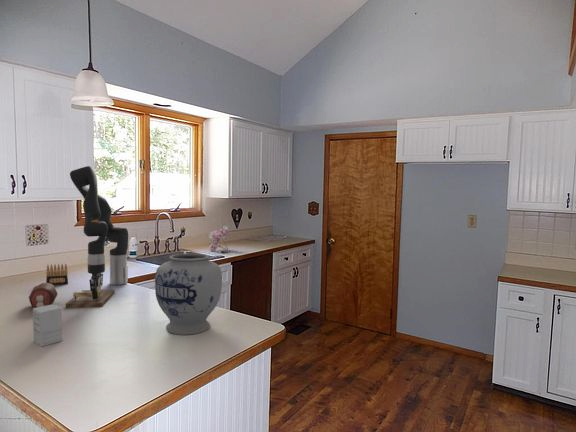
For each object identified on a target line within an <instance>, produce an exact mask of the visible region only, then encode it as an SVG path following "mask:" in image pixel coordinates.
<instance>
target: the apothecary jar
mask: <svg viewBox="0 0 576 432" xmlns="http://www.w3.org/2000/svg"><path fill="white" fill-rule="evenodd" d="M168 258H169V259H170V260H169V261H166V262H163V263H162V264H160V265H159V266H158V267H157V268H156V271H155V277H154V278H155V279H154V288H155V297H156V301H157V304H158V306H159V307H160V310H161V311H162V312H163V313H164V315H165V316H166V317H167V319H168V320H169V322H168V323H167V325H166V326H165V328H166V330H167V331H168V332H169V333H171V334H174V335H178V336H179V335H181V336H182V335H183V336H187V335H189V336H190V335H196V334H201V333H203V332H206V331H207V330H208V329H209V328H210V327H211V323H210V321H208V320H207V319H208V317H209V316H210V314H211V313H212V312H213V311H214V310H215V308H216V307H217V306H218V303H219V302H220V298H221V293H222V288H223V279H222V269H221V267H220V265H219V264H218V263H216V262H213V261H211V260H209V259H210V256H209V255H208V254H206V253H205V254H204V253H176V254H172V255H169V257H168Z"/></svg>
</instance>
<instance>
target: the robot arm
mask: <svg viewBox="0 0 576 432" xmlns="http://www.w3.org/2000/svg"><path fill="white" fill-rule="evenodd" d="M69 177H70V180H71V181H72V183H73V185H74V186H75V188H76V189H77V191H78V192H79V193H80V195H81V196H82V197H83V199H84V200H83V201H82V202H83V203H82V208H83V212H84V213H83V214H84V224H83V233H84V235H85V236H86V237H89V238H91V237H98V238H97V239H95V240H91V241H89V242H88V244H87V273H88V274H91V277H90V279H89V290H90V291H92V299H97V298H98V286H101V288H102V286H103V283H104V282H103V280H104V274H103V273H105V271H106V258H105V243H106V239H107V241H109V243H116V246H115V247H114V248H111V249H110V250H109V285H112V286H119V285H121V286H122V285H127V283H128V282H129V281H128V279H129V275H128V274H129V271H128V270H129V266H128V263H127V262H128V257H127V256H128V248H129V231H128V229H127V227H123V226H114V225H113V223H112V221H111V217H112V208H111V206H110V204H109V202H108V201H107V199H106V198H105V197H103V196H101V195H100V194H99V193H98V189H99V188H98V178H97V174H96V171H95V170H94V168H93V167H92V166H91V165H88V166H87V165H86V166H84V167H80V168H77V169H73V170H71V171H70V173H69ZM87 186H89V187H87ZM94 287H95V288H94Z"/></svg>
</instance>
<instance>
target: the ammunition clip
mask: <svg viewBox="0 0 576 432" xmlns="http://www.w3.org/2000/svg"><path fill="white" fill-rule="evenodd" d="M45 273H46V276H45V277H46V282H45V283H50V284H52V285H54V286H60V285H61V286H63V285H68V284H69V277H68V275H69V274H68V264H67V263H65V264H63V263H61V266H60V263H58V264H57V265H56V263H54V265H53V264H52V263H51V264H50V266H49V264H47V265H46V272H45Z"/></svg>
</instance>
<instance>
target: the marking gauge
mask: <svg viewBox="0 0 576 432" xmlns="http://www.w3.org/2000/svg"><path fill="white" fill-rule="evenodd" d="M94 288H95V287H94ZM101 290H102V287H101V286H98V298H97V299H92V291H87V292H81V291H73V293H72V295H73V297H75V300H76V299H77V297H91V300H99V299H100V298H101ZM73 297H72V298H73Z"/></svg>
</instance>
